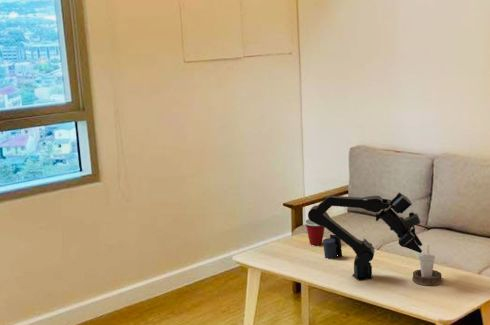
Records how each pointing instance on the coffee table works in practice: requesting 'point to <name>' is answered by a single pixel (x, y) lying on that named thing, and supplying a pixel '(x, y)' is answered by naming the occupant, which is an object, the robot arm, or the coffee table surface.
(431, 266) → the smoothie
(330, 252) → the speaker
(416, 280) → the bowl
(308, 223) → the plastic cup
